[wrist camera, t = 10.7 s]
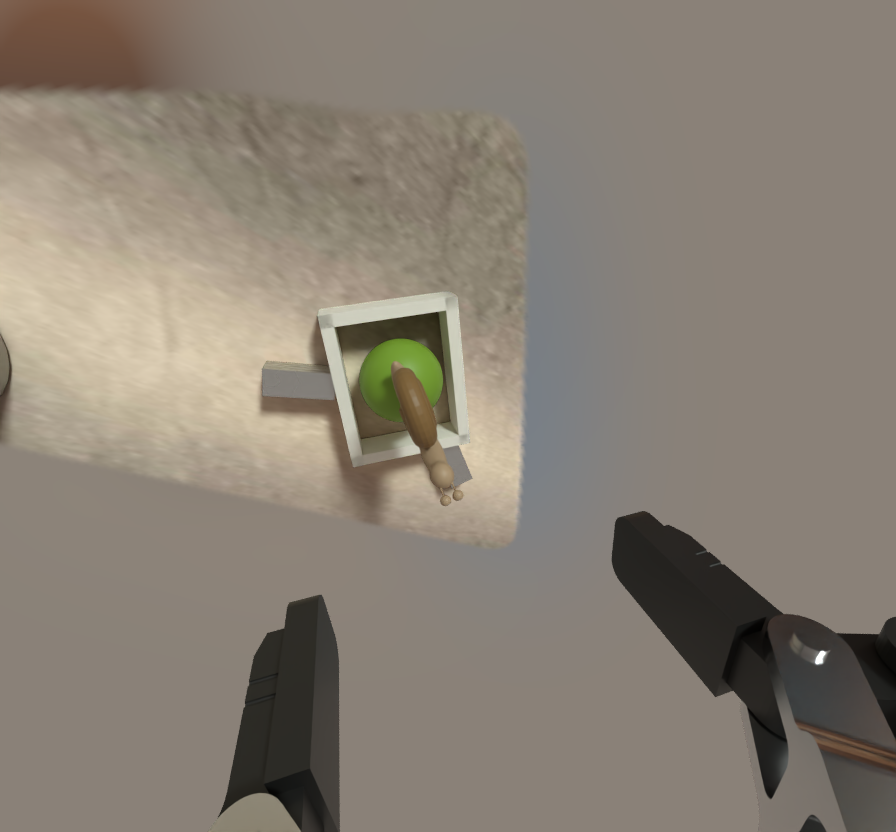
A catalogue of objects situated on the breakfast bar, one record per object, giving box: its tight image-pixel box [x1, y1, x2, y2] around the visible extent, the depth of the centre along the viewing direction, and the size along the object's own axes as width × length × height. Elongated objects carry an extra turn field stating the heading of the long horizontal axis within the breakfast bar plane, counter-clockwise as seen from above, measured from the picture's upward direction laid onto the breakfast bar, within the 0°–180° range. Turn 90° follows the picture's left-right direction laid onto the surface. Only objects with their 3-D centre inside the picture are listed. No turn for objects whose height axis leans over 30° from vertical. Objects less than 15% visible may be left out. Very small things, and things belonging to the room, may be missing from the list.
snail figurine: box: [359, 339, 463, 506], centre depth 24 cm, size 5×6×12 cm
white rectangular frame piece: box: [262, 291, 472, 488], centre depth 28 cm, size 13×15×2 cm
